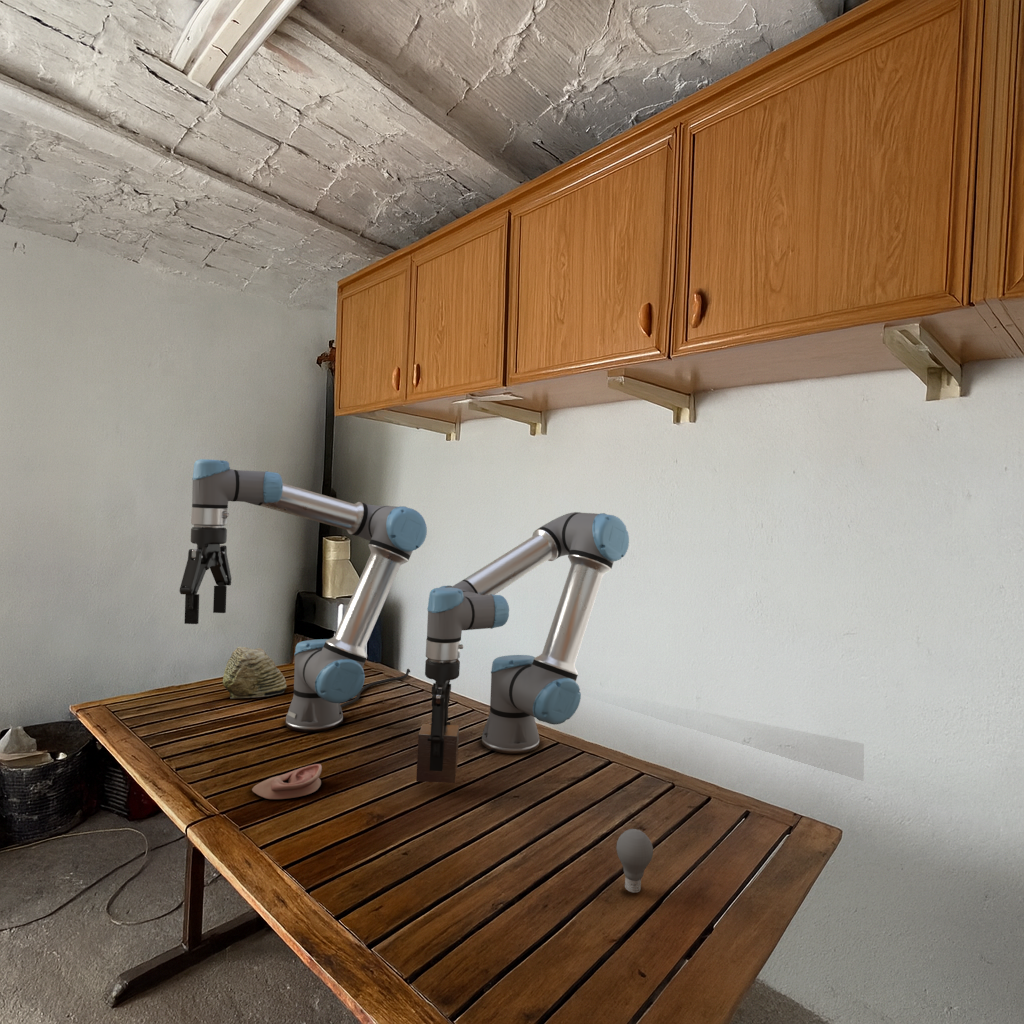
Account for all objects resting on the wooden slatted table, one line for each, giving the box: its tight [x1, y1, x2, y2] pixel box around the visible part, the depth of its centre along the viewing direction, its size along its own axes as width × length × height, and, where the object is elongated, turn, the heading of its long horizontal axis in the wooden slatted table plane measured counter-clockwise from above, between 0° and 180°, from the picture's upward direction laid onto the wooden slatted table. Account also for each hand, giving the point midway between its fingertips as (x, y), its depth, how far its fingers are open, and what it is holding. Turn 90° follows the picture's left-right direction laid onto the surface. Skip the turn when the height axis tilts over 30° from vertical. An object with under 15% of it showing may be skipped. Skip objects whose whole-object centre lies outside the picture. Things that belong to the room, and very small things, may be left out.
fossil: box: [222, 646, 288, 699], centre depth 198 cm, size 9×18×15 cm, turn 132°
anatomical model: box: [251, 763, 323, 800], centre depth 137 cm, size 13×4×12 cm
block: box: [415, 723, 460, 784], centre depth 139 cm, size 8×6×10 cm
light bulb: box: [615, 828, 654, 894], centre depth 106 cm, size 6×6×10 cm
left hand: (206, 618), depth 147 cm, fingers open, 13 cm apart
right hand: (437, 762), depth 139 cm, fingers closed on block, 6 cm apart
